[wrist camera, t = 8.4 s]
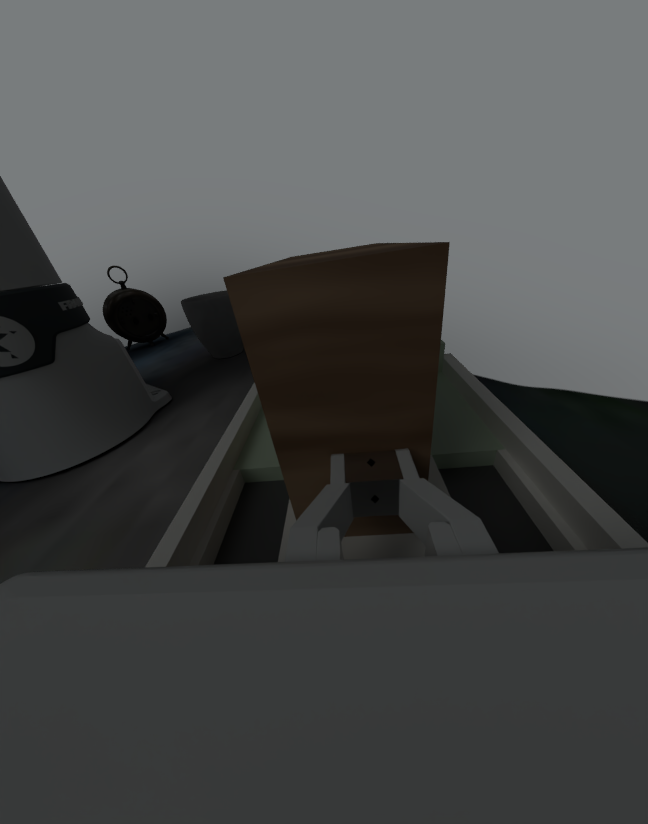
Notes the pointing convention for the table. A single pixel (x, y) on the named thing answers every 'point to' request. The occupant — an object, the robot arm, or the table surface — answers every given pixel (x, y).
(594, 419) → the table surface
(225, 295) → the mug
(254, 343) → the walnut block
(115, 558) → the table surface
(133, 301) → the alarm clock
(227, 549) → the box
